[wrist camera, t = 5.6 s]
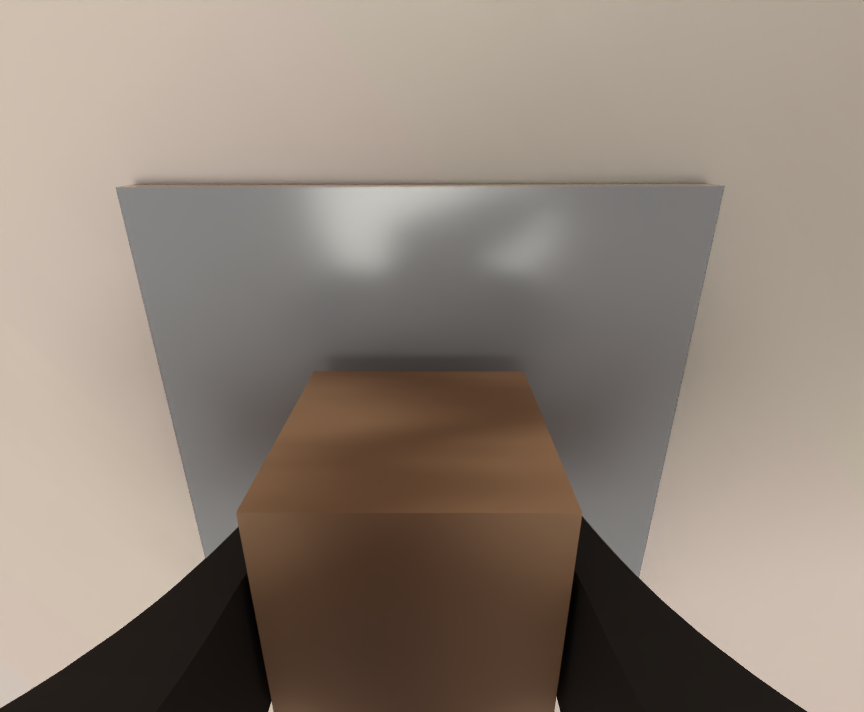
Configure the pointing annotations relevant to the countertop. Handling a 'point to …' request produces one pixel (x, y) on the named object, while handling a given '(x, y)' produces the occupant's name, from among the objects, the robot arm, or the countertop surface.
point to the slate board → (426, 315)
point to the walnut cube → (412, 546)
